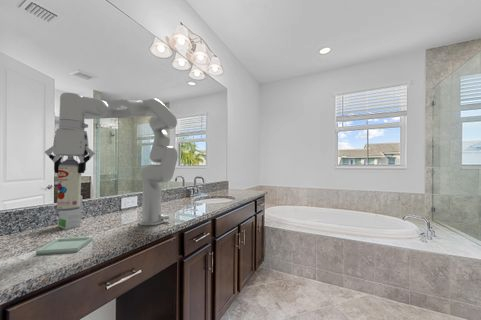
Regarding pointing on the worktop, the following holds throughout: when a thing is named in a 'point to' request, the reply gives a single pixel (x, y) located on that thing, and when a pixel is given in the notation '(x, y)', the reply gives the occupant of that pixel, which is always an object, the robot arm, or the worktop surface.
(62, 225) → the skincare box
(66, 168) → the aerosol can
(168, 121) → the robot arm
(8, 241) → the worktop surface
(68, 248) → the tray
